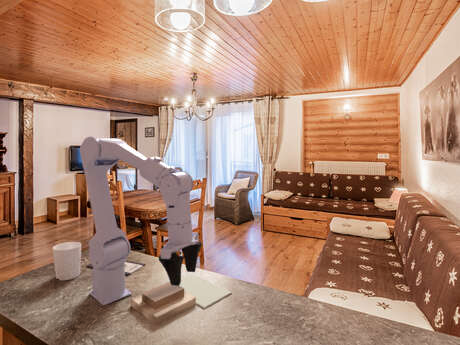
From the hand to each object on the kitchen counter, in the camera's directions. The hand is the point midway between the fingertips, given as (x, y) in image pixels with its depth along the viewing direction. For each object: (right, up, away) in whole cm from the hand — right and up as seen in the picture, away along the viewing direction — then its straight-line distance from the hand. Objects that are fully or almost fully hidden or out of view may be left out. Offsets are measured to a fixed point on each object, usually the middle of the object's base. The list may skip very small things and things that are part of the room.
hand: (183, 277), depth 67 cm
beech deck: (-6, -10, +6) cm, 13 cm away
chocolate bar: (-29, -8, +30) cm, 43 cm away
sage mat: (+1, -9, +15) cm, 17 cm away
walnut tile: (-6, -8, +6) cm, 11 cm away
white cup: (-41, -8, +23) cm, 48 cm away
